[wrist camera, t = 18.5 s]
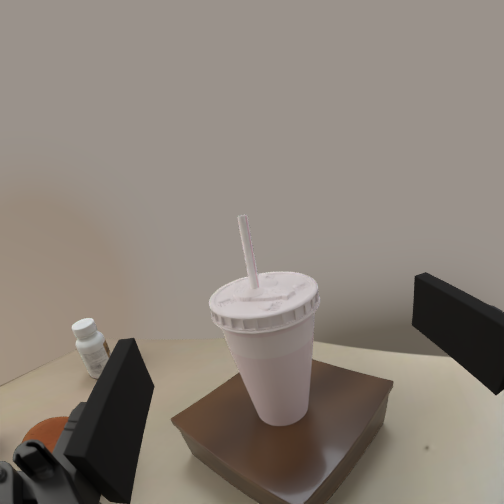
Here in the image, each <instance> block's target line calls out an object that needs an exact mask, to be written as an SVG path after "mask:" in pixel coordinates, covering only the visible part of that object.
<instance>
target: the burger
mask: <svg viewBox="0 0 504 504" xmlns="http://www.w3.org/2000/svg"><path fill="white" fill-rule="evenodd" d="M68 418H69V417H55V418H49V419H47V420H44V421H42V422H40V423H38V424H37V425H35V426H34V427H33V428H32V429H30V430H29V432H28V433H27V434H26V435H25V437H24V439H23V441H22V443H23V442H24V441H27V440H30V439H35V440H39V441H41V442H42V443H43V444H44V445H45V446H46V448H47V449H48V450H49V451H50V452H51V453H52V452H53V450H54V447H55V445H56V443H57V441H58V439H59V437H60V435H61V433H62V430H64V426H65V424H66V422H68V421H67V420H68Z"/></svg>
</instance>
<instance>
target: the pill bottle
mask: <svg viewBox="0 0 504 504" xmlns="http://www.w3.org/2000/svg"><path fill="white" fill-rule="evenodd" d="M72 330H73V333H74V335H75V337H76V338H77V341H76V347H77V350H78V352H79V354H80V356H81V358H82V360H83V362H84V364H85V366H86V368H87V370H88V372H89V374H90V376H91V377H93V378H95V379H98V378H99V376H100V375H101V373H102V371H103V369H104V367H105V365H106V363H107V361H108V359H109V357H110V355H111V352H110V350H109V348H108V345H107V343H106V340H105V338H104V336H103V334H102V333H100V332H98V331H97V327H96V324H95V322H94V320H93V319H92V318H85V319H82V320H79V321H77V322H76V323H74V325H72Z"/></svg>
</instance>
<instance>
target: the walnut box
mask: <svg viewBox="0 0 504 504" xmlns="http://www.w3.org/2000/svg"><path fill="white" fill-rule="evenodd" d="M392 388H393V381H391V380H387V379H382V378H378V377H374V376H370V375H366V374H362V373H359V372H355V371H351V370H348V369H344V368H340V367H337V366H333V365H330V364H326V363H323V362H320V361H316V360H313V359H312V366H311V379H310V390H309V401H308V410H307V412H306V414H305V415H304V417H303V418H301V419H300V420H299V421H297V422H295V423H293V424H290V425H286V426H273V425H270V424H267V423H265V422H264V421H262V420H261V418H260V417H259V415H258V413H257V411H256V408H255V406H254V404H253V402H252V400H251V397H250V395H249V393H248V391H247V388H246V386H245V384H244V382H243V379H242V377H241V375H240V373H238V374H236V375H235V376H234V377H232V378H231V379H229V380H228V381H227V382H225V383H224V384H222V385H221V386H219V387H218V388H217V389H215V390H214V391H212V392H211V393H209V394H208V395H206V396H205V397H203V398H202V399H200V400H199V401H197V402H196V403H194V404H193V405H191V406H190V407H188V408H187V409H185V410H184V411H182V412H180V413H179V414H177V415H176V416H174V417H173V418H171V421H172V423H173V425H175V426H176V427H177V428H178V429H179V430H180V432H181V434H182V436H183V438H184V440H185V441H186V443H187V445H188V447H189V449H190V450H191V452H192V454H193V455H195V456H196V457H197V458H198V459H199V460H201V461H202V462H203V463H204V464H205V465H207V466H208V467H209V468H210V469H212V470H213V471H214V472H216V473H217V474H218V475H220V476H221V477H222V478H224V479H225V480H226V481H228V482H229V483H230V484H232V485H233V486H234V487H236V488H237V489H239V490H240V491H242V492H243V493H245V494H246V495H248V496H249V497H251V498H252V499H254V500H255V501H257V502H258V503H260V504H325V503H326V502H327V500H328V499H329V498H330V497H331V496H332V495H333V493H334V492H335V491H336V490H337V488H338V487H339V486H340V485H341V483H342V482H343V481H344V480H345V478H346V477H347V476H348V474H349V473H350V472H351V470H352V469H353V468H354V466H355V465H356V463H357V462H358V461H359V459H360V458H361V456H362V455H363V453H364V452H365V450H366V449H367V447H368V446H369V444H370V443H371V441H372V440H373V438H374V437H375V435H376V434H377V432H378V430H379V429H380V427H381V425H382V424H383V422H384V418H385V413H386V408H387V402H388V396H389V393H390V391H391V389H392Z"/></svg>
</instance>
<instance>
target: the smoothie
mask: <svg viewBox="0 0 504 504" xmlns="http://www.w3.org/2000/svg"><path fill="white" fill-rule="evenodd" d="M237 219H238V224H239V230H240V235H241V241H242V246H243V251H244V257H245V262H246V267H247V272H248V276H247V277H243V278H240V279H237V280H235V281H232V282H230V283H228V284H226V285H224V286H222V287H221V288H219V289H218V290H217V291H216V292H215V293H214V294H213V295H212V296H211V298H210V300H209V306H210V310H211V317H212V321H213V322H214V323H215V324H216V326H218V327H219V328H221V329H222V332H223V334H224V337H225V340H226V342H227V345H228V347H229V349H230V351H231V354H232V356H233V359H234V361H235V363H236V366H237V368H238V370H239V373H240V375H241V377H242V379H243V382H244V384H245V386H246V388H247V391H248V393H249V395H250V397H251V400H252V402H253V404H254V406H255V408H256V411H257V413H258V415H259V417H260V418H261V420H262V421H264V422H265V423H267V424H270V425H273V426H286V425H290V424H293V423H295V422H297V421H299V420H300V419H301V418H303V417H304V415H305V414H306V412H307V410H308V401H309V390H310V379H311V366H312V351H313V334H314V312H315V311H316V310H317V309H318V307H319V304H320V300H321V299H320V296H319V293H318V285H317V282H316V281H315V280H314V279H313V278H311V277H309V276H307V275H305V274H301V273H296V272H285V271H283V272H267V273H260V274H258V273H257V268H256V262H255V257H254V251H253V245H252V240H251V234H250V229H249V223H248V217H247V215H240V216H237Z"/></svg>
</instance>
